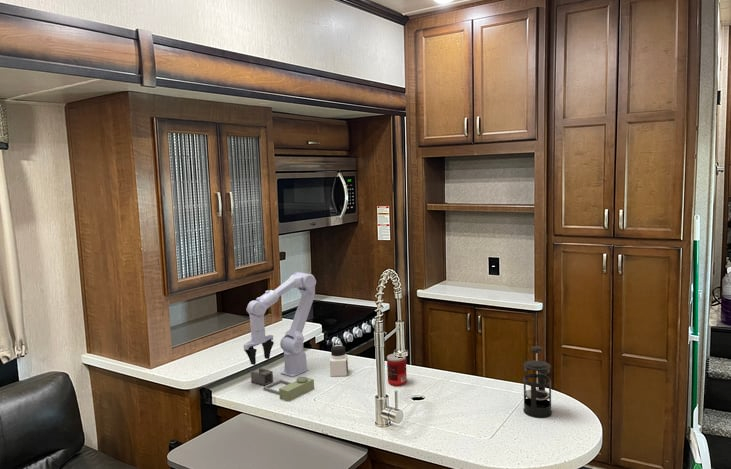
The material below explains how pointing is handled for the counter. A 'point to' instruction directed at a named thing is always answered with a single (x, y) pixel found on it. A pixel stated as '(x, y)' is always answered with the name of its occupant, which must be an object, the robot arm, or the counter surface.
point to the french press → (537, 395)
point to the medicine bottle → (338, 361)
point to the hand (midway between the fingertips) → (260, 361)
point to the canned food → (396, 370)
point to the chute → (262, 377)
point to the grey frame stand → (292, 388)
